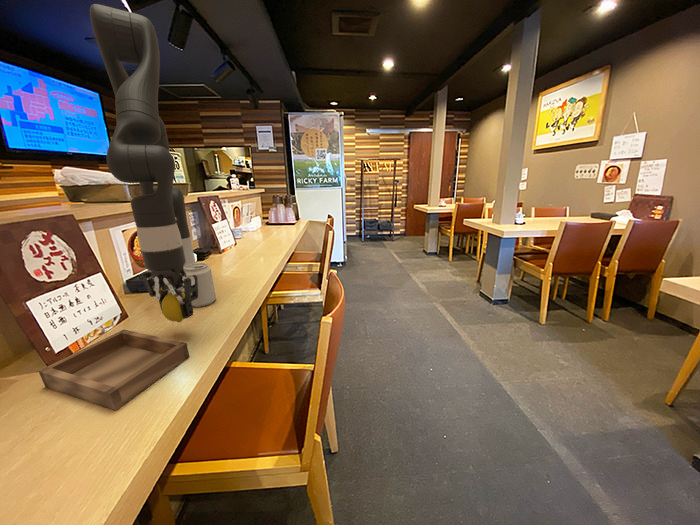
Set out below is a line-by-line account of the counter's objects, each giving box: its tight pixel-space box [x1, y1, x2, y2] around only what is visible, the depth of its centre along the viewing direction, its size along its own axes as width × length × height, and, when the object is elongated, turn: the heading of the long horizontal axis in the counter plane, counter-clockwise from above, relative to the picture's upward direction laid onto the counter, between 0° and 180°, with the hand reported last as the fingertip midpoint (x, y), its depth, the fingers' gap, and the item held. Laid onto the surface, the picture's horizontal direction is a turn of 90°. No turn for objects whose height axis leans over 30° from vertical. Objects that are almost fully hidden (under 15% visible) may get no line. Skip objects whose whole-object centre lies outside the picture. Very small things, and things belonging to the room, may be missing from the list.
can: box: [184, 262, 217, 308], centre depth 80 cm, size 8×8×12 cm
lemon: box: [161, 292, 186, 323], centre depth 63 cm, size 6×6×8 cm
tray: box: [38, 329, 190, 412], centre depth 53 cm, size 18×14×4 cm
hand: (177, 314), depth 63 cm, fingers closed on lemon, 5 cm apart
